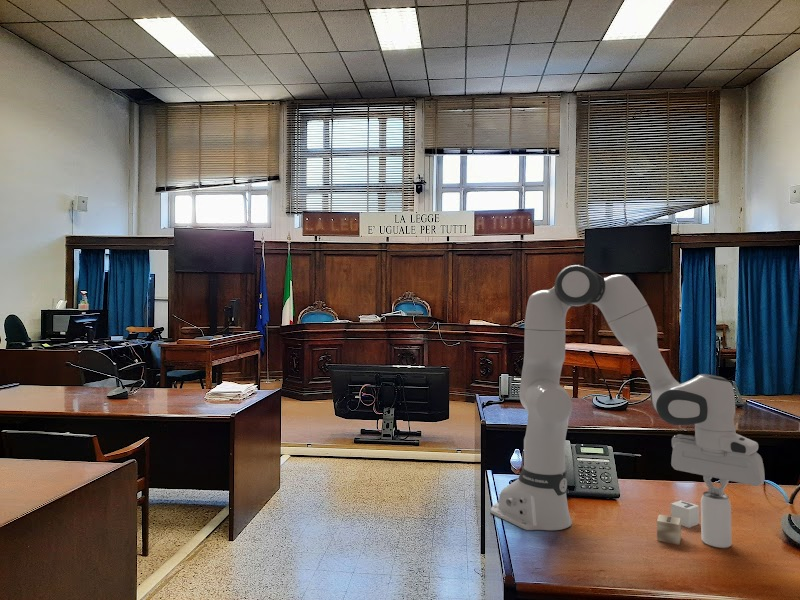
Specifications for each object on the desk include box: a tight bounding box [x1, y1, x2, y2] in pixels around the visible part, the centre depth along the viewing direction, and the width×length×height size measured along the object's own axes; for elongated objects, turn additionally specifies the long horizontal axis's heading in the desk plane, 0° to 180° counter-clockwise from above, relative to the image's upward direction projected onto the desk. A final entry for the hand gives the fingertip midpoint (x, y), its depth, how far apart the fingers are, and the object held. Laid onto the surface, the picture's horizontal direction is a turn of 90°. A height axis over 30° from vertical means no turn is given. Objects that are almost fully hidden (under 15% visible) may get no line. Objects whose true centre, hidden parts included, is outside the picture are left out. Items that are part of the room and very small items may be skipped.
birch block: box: [656, 514, 682, 546], centre depth 135 cm, size 5×5×5 cm
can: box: [700, 490, 732, 549], centre depth 133 cm, size 6×6×12 cm
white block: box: [670, 499, 700, 529], centre depth 145 cm, size 5×5×5 cm
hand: (716, 495), depth 133 cm, fingers closed, pressing on can
